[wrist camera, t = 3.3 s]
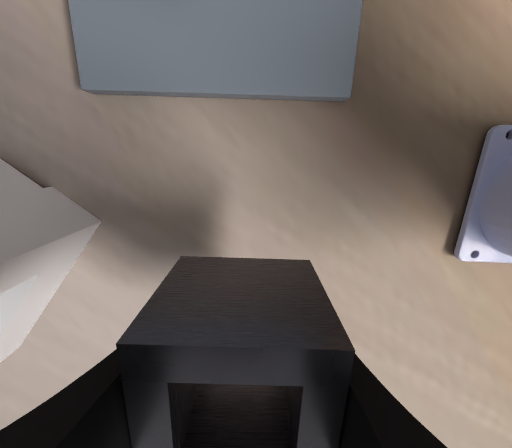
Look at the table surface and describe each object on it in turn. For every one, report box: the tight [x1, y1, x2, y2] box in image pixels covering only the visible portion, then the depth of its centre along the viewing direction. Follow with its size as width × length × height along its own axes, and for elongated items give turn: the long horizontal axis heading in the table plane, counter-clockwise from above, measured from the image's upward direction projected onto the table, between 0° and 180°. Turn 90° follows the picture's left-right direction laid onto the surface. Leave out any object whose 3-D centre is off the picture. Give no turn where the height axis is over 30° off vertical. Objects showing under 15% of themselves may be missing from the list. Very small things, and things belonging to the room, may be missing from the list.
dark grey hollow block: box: [116, 256, 355, 448], centre depth 9 cm, size 6×6×5 cm
